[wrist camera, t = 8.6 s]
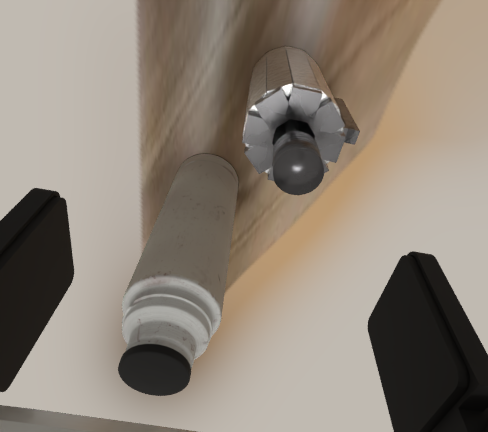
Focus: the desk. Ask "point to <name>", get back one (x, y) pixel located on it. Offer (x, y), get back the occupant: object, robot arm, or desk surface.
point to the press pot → (293, 108)
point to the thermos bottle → (180, 278)
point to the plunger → (296, 161)
